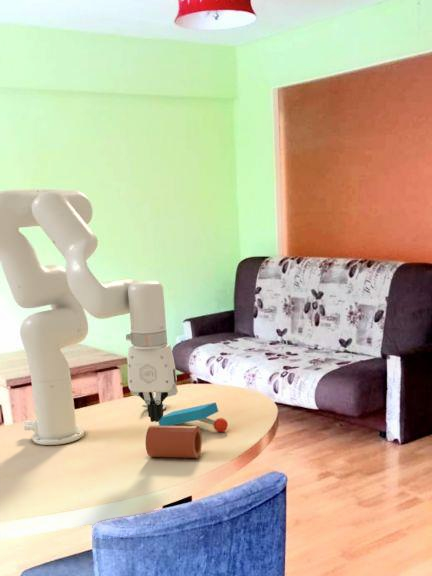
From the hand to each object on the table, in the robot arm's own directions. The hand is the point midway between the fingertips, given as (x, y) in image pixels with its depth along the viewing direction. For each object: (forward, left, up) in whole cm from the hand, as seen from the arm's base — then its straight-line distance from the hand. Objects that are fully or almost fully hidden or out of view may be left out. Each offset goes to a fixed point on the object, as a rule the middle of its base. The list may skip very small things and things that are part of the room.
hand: (156, 419), depth 164 cm
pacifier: (-13, +37, -9) cm, 40 cm away
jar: (-2, 0, -5) cm, 5 cm away
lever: (+3, +21, -9) cm, 23 cm away
